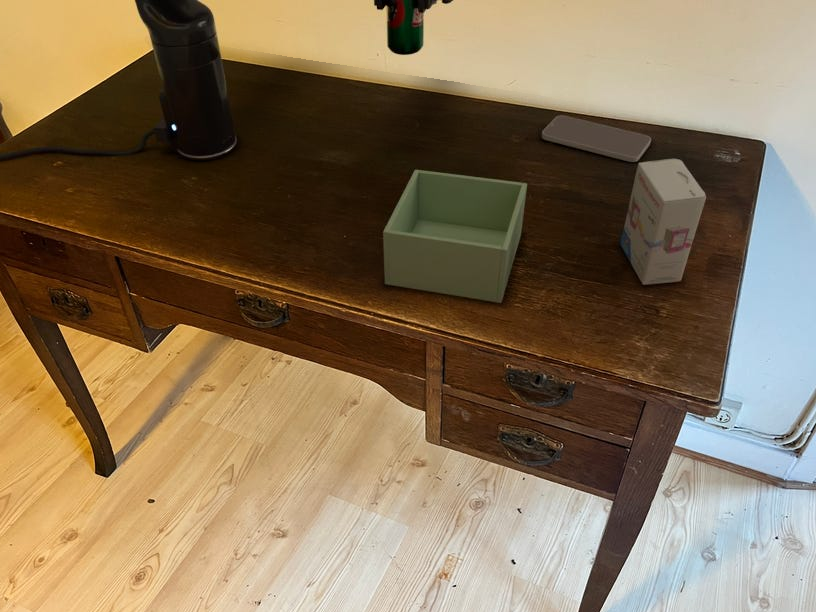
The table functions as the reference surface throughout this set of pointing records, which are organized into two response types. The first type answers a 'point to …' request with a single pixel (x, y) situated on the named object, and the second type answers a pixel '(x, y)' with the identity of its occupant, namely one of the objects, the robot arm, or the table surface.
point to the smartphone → (597, 138)
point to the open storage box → (454, 235)
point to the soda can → (404, 26)
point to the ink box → (662, 220)
